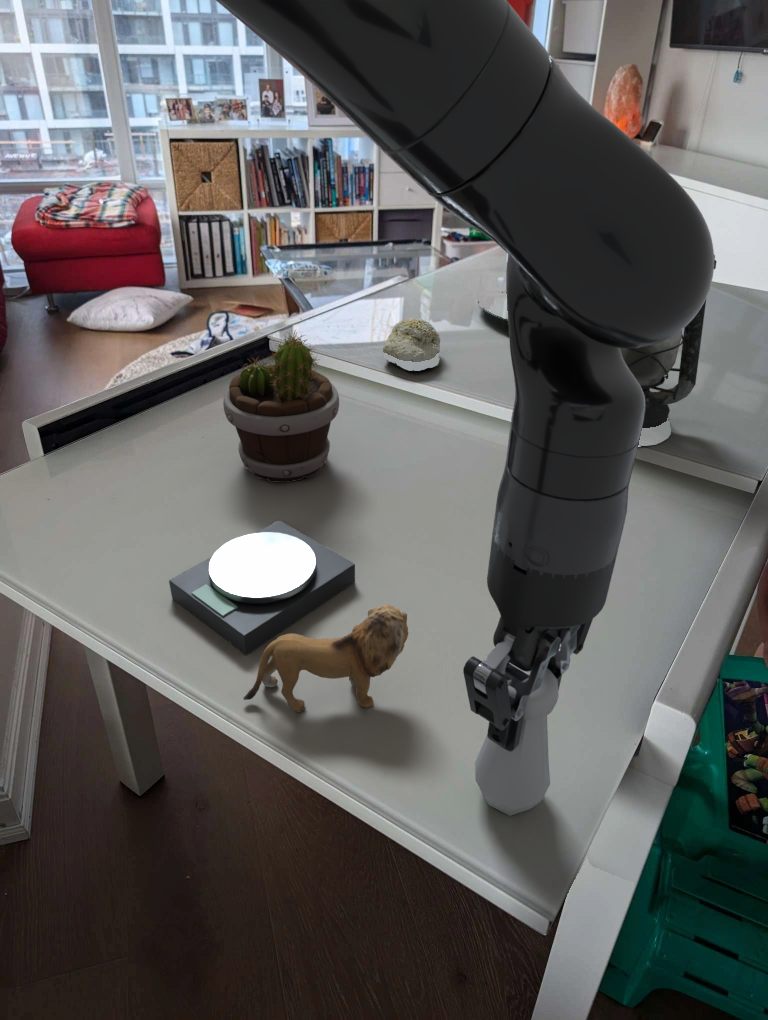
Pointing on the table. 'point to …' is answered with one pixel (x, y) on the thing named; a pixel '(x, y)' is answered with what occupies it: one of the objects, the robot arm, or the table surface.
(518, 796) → the salt shaker
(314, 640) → the lion figurine
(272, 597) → the scale pan
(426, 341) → the decorative item
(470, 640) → the table surface
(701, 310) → the lantern
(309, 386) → the flowerpot
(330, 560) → the scale
